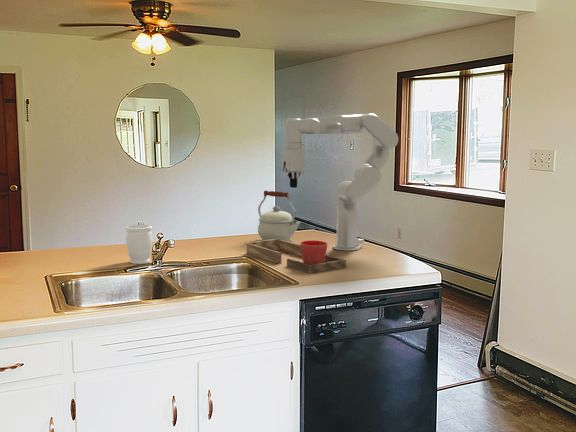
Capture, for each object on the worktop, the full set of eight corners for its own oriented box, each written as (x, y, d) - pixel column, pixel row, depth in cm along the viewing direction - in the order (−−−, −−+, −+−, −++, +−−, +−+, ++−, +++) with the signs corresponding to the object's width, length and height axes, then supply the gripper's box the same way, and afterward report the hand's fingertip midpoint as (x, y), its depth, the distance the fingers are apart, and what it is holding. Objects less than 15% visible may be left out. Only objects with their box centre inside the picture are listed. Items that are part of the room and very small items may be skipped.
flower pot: (324, 270, 233) (325, 245, 232) (297, 268, 236) (297, 244, 234) (328, 264, 244) (329, 241, 242) (302, 262, 246) (303, 239, 245)
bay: (321, 260, 250) (321, 253, 250) (346, 267, 238) (346, 260, 238) (286, 266, 239) (286, 258, 239) (310, 273, 227) (310, 265, 227)
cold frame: (279, 249, 274) (279, 238, 274) (313, 258, 255) (313, 246, 254) (246, 253, 263) (246, 242, 263) (279, 263, 244) (279, 251, 243)
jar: (157, 260, 247) (157, 225, 245) (144, 265, 238) (143, 229, 235) (135, 258, 251) (134, 223, 249) (121, 263, 241) (120, 227, 239)
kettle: (247, 241, 293) (247, 191, 289) (269, 236, 308) (269, 188, 304) (289, 247, 279) (289, 194, 275) (310, 241, 294) (310, 191, 290)
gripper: (301, 146, 272) (301, 185, 274) (275, 146, 263) (275, 187, 266) (312, 146, 266) (311, 187, 268) (285, 146, 257) (285, 188, 260)
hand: (293, 187), depth 267 cm, fingers closed
